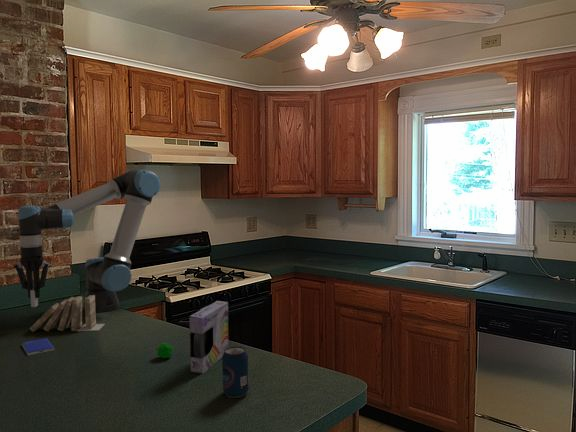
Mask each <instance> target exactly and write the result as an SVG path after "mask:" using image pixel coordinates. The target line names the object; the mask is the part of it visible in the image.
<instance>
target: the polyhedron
mask: <svg viewBox="0 0 576 432" xmlns="http://www.w3.org/2000/svg"><path fill="white" fill-rule="evenodd" d="M173 351H174V348H173V346H172V345H171V344H169V343H167V342H162V343H161V344H160V345H159V346H158V347H157V349H156V354H157V356H158V357H159V358H161V359H163V360H165V359H169V358H170V357H171V356H172V355H173Z"/></svg>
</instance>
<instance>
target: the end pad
mask: <svg viewBox="0 0 576 432" xmlns="http://www.w3.org/2000/svg"><path fill="white" fill-rule="evenodd" d="M104 326H105V323H96V325H95V326H94V327H93V328H92V329H88V330H86V323H85V324H82V327H80V328H79V329H78V330H77V331H76V332H97V331H98V332H99V331H100V330H101V329H102V328H103V327H104Z"/></svg>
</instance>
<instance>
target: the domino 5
mask: <svg viewBox="0 0 576 432" xmlns="http://www.w3.org/2000/svg"><path fill="white" fill-rule="evenodd" d="M84 301H85V311H84V312H85V313H84V315H85V316H84V317H85V324H86V330H88V329H92V328H93V327H94V326H95V325H96V324H97V315H96V314H97V312H96V310H95V295H89V296H88V297H87V298H84Z"/></svg>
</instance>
